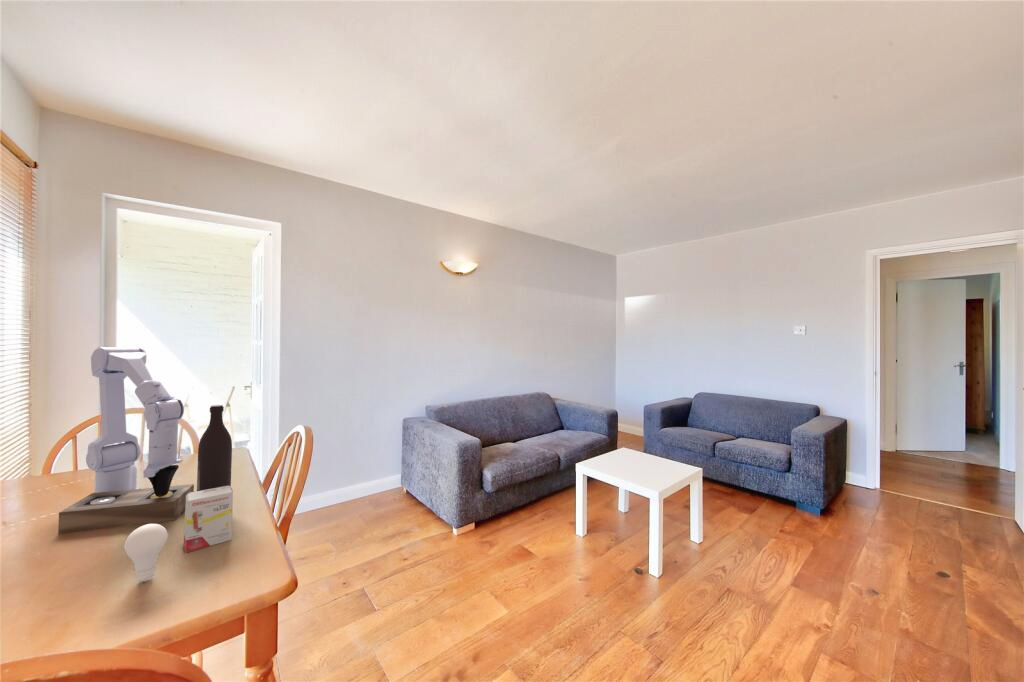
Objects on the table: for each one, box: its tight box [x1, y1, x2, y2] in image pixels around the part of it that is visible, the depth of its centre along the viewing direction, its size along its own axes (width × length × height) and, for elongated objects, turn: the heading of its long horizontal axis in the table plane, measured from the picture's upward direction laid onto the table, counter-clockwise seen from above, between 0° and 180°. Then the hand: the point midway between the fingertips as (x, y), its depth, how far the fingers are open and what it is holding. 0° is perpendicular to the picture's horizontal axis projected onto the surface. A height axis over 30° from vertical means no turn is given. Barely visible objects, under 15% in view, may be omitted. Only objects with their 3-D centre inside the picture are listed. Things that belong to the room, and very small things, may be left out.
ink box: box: [183, 485, 234, 553], centre depth 88 cm, size 9×5×12 cm, turn 133°
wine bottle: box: [196, 404, 233, 491], centre depth 99 cm, size 7×7×30 cm
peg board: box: [57, 483, 195, 534], centre depth 100 cm, size 12×22×5 cm, turn 111°
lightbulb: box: [124, 523, 169, 583], centre depth 74 cm, size 6×6×11 cm
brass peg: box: [150, 491, 173, 499], centre depth 102 cm, size 4×4×5 cm
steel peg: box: [90, 497, 115, 505], centre depth 97 cm, size 4×4×5 cm
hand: (161, 494), depth 102 cm, fingers closed, pressing on brass peg
